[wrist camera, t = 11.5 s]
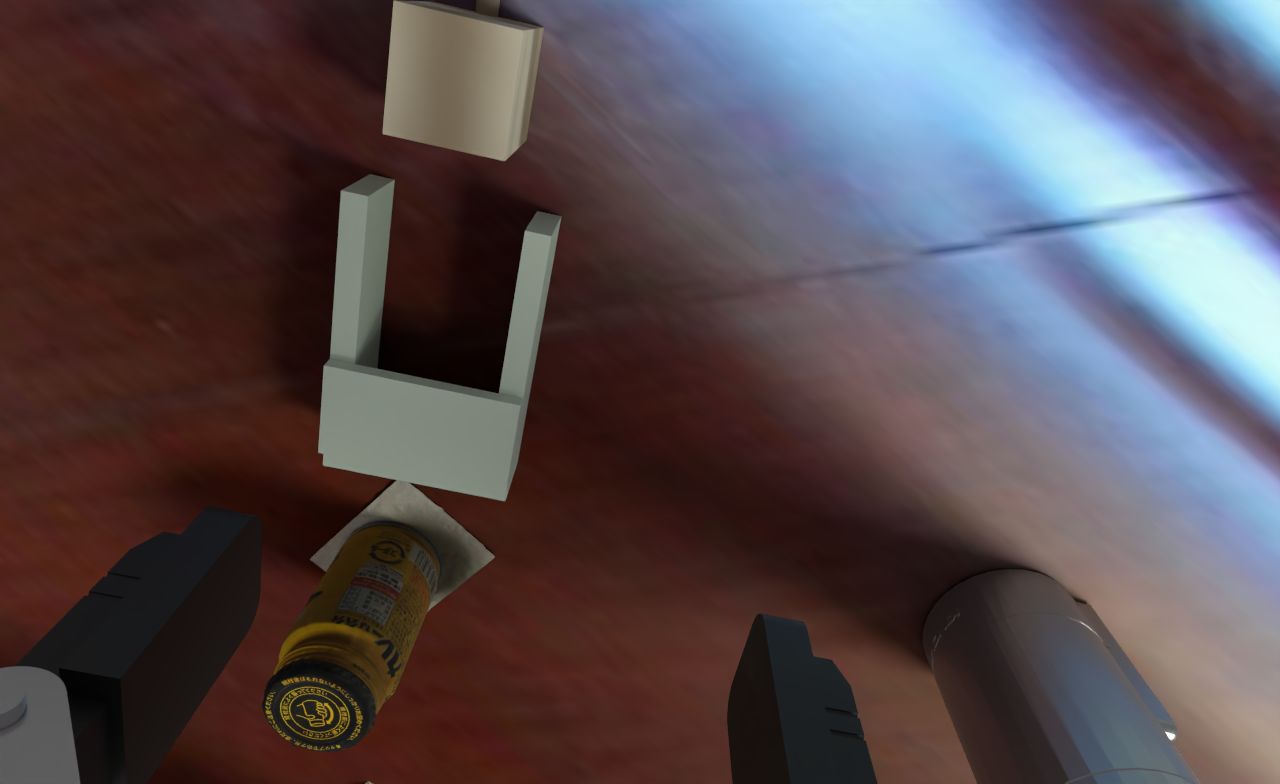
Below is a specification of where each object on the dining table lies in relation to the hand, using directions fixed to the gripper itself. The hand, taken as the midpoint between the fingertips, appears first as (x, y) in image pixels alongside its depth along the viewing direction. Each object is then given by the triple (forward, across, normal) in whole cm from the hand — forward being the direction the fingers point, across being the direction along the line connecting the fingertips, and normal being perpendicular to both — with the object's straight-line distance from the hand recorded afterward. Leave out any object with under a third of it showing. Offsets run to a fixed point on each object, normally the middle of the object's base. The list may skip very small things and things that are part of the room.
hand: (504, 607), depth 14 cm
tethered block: (+30, +7, -11) cm, 33 cm away
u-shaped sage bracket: (+30, +7, +8) cm, 32 cm away
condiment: (+30, +8, +23) cm, 39 cm away
